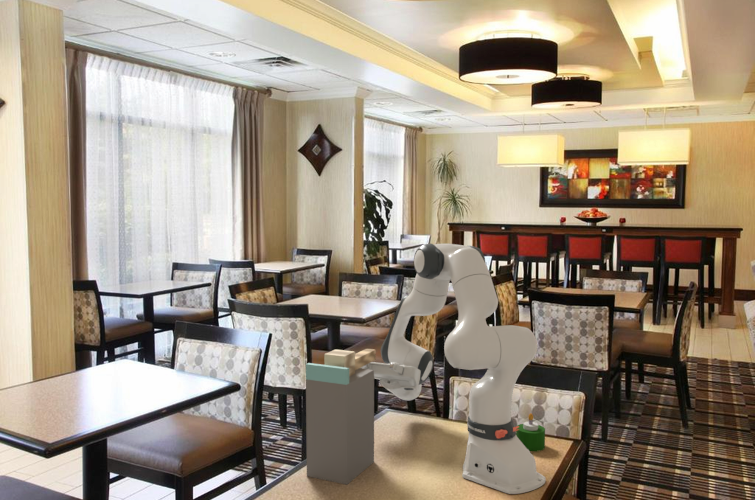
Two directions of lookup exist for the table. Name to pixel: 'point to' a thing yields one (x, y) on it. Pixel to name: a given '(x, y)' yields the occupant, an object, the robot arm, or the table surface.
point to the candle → (531, 435)
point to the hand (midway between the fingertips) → (377, 364)
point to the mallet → (349, 359)
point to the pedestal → (339, 422)
